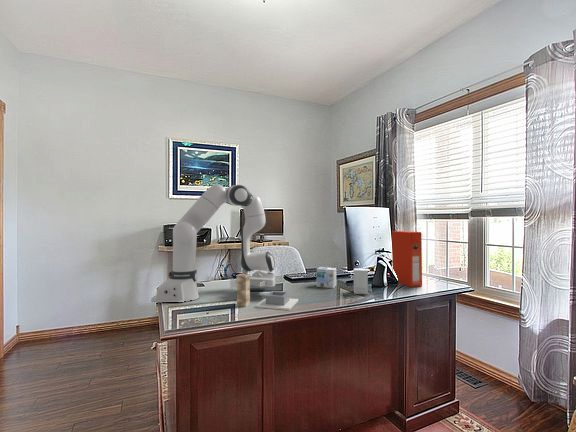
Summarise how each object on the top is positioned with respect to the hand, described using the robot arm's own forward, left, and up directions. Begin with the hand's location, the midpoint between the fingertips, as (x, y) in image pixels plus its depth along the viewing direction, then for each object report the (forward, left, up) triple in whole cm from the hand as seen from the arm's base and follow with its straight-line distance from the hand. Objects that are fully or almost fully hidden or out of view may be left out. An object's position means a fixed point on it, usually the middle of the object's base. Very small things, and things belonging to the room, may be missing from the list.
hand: (249, 284), depth 150 cm
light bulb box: (+43, +29, -8) cm, 52 cm away
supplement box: (+59, +13, -8) cm, 61 cm away
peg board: (+14, -7, -8) cm, 17 cm away
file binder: (+93, +33, -8) cm, 99 cm away
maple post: (-2, -8, -8) cm, 11 cm away
